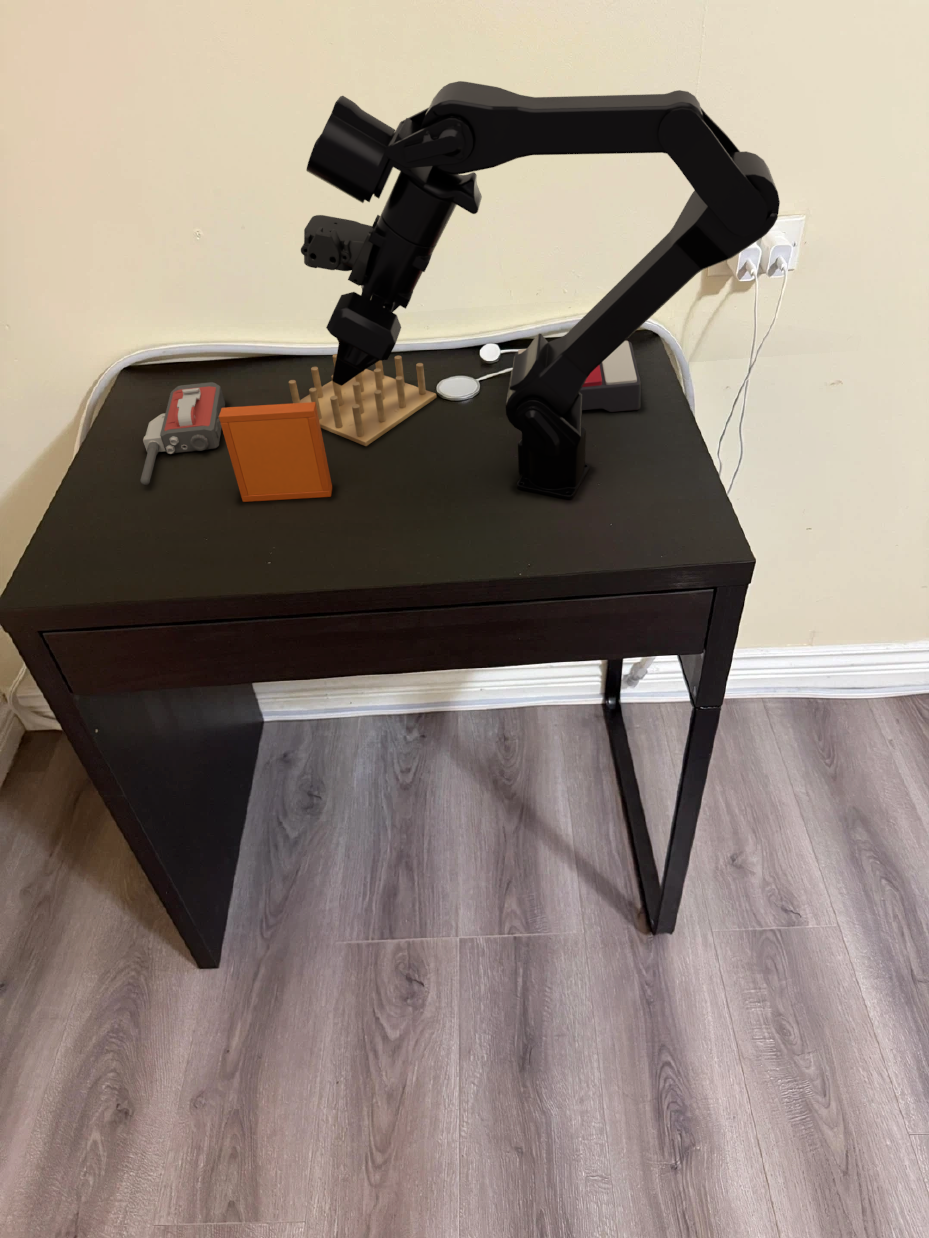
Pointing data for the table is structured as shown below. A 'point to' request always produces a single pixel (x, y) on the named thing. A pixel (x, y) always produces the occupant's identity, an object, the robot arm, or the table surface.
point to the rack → (366, 402)
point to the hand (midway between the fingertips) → (346, 360)
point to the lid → (277, 451)
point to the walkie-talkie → (185, 423)
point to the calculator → (613, 382)
